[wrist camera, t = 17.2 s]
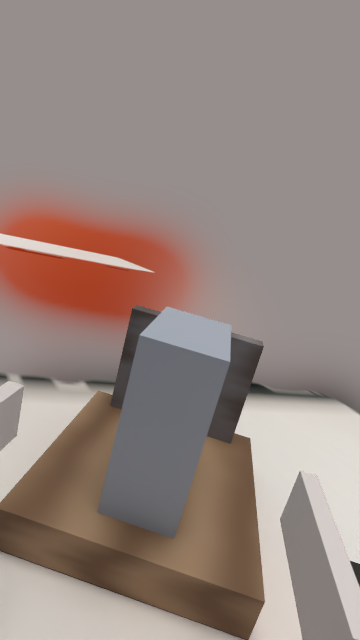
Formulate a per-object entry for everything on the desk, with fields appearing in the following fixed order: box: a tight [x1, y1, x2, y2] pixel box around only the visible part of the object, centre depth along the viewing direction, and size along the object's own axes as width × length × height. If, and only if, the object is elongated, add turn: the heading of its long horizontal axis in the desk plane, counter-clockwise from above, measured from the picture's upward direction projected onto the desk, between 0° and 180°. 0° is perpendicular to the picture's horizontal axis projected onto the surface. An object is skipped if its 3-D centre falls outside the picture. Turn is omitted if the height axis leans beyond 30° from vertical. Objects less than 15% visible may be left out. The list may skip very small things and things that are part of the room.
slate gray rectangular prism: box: [97, 307, 231, 539], centre depth 24 cm, size 5×8×12 cm, turn 171°
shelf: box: [0, 305, 265, 640], centre depth 26 cm, size 16×16×13 cm
